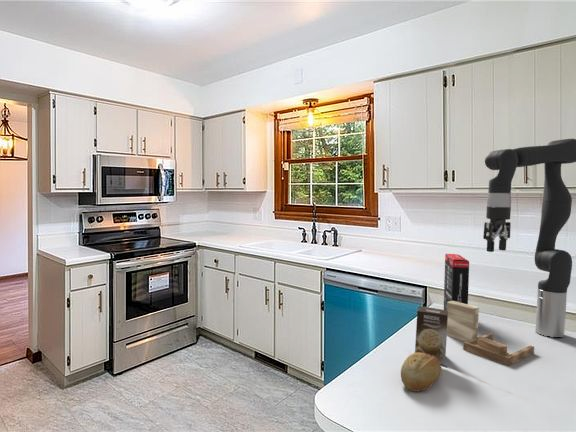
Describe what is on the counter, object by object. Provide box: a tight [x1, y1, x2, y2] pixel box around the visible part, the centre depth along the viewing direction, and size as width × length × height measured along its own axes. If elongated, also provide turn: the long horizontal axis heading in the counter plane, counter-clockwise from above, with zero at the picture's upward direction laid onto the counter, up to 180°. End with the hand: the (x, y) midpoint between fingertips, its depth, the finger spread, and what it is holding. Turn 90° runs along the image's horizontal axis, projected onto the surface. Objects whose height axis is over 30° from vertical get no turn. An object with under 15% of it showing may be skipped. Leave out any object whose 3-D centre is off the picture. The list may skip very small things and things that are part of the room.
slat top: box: [477, 337, 508, 354], centre depth 120 cm, size 4×8×2 cm, turn 25°
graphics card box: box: [443, 253, 470, 310], centre depth 160 cm, size 17×7×27 cm, turn 168°
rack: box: [462, 332, 535, 367], centre depth 124 cm, size 17×14×4 cm
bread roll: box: [400, 352, 442, 392], centre depth 103 cm, size 10×15×8 cm, turn 143°
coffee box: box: [414, 305, 448, 367], centre depth 118 cm, size 9×6×16 cm
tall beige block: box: [447, 301, 480, 342], centre depth 135 cm, size 4×10×13 cm, turn 35°
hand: (496, 250), depth 135 cm, fingers open, 8 cm apart
